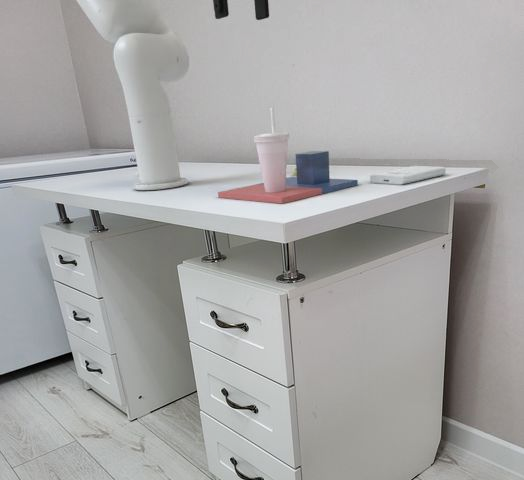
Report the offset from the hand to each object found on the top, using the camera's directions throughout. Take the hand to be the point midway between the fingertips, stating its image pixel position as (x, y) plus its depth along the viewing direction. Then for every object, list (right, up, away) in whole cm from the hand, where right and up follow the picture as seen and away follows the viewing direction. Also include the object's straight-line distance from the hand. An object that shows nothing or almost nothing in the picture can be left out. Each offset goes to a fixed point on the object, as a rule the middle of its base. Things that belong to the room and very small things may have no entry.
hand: (242, 18), depth 99 cm
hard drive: (+32, -28, +6) cm, 43 cm away
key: (+15, -19, +29) cm, 38 cm away
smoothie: (+6, -32, 0) cm, 32 cm away
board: (+8, -30, +5) cm, 32 cm away
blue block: (+14, -28, +6) cm, 32 cm away
